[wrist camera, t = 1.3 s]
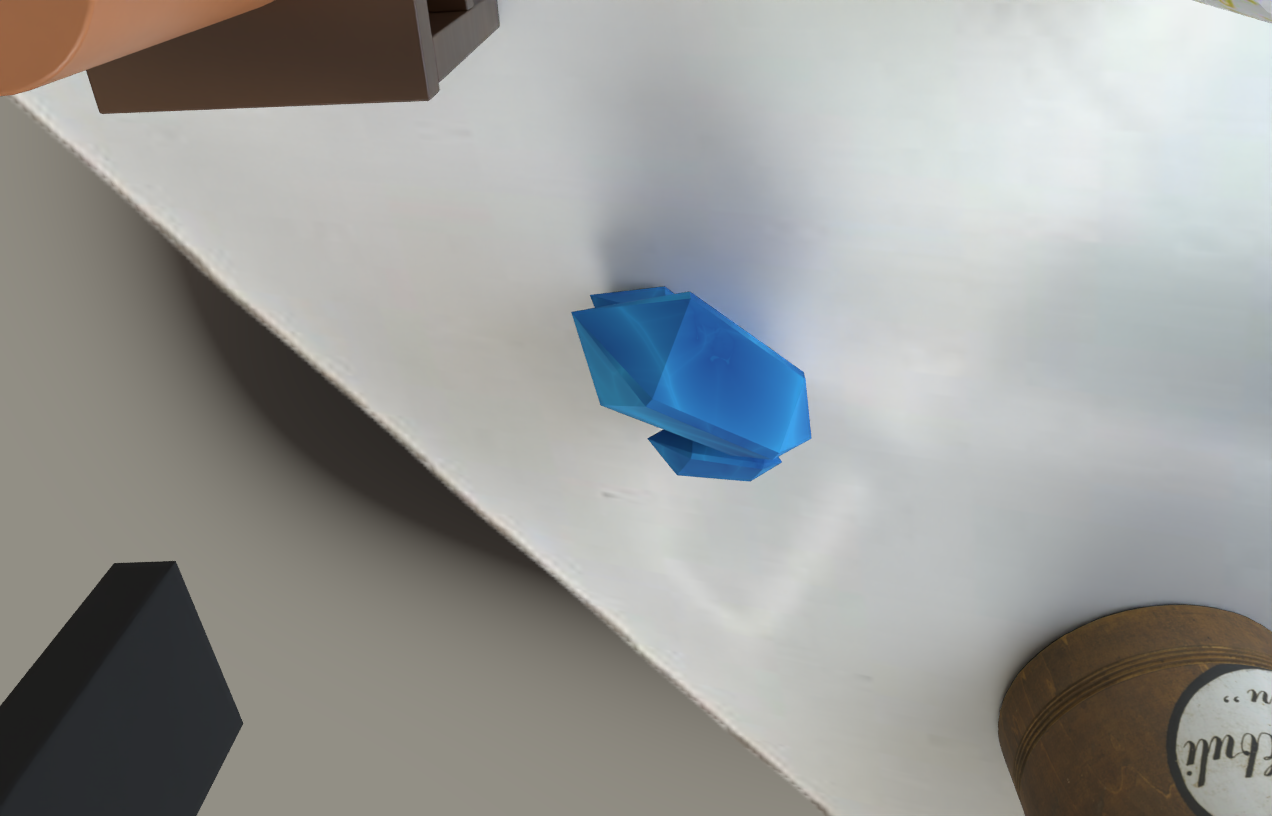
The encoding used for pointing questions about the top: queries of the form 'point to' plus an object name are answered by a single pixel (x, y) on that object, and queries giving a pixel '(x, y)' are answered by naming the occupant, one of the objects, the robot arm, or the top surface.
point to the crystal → (694, 382)
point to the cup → (1245, 7)
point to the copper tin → (93, 33)
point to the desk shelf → (301, 57)
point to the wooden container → (1145, 717)
